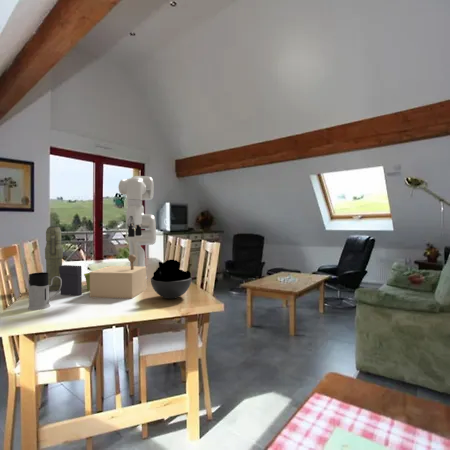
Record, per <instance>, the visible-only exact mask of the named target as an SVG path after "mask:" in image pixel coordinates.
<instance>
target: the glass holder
mask: <svg viewBox="0 0 450 450" xmlns="http://www.w3.org/2000/svg"><path fill="white" fill-rule="evenodd" d="M55 277H58V276H55ZM55 277H53V278H52V280H51V285H52V281H53V279H54V278H55ZM58 278H59V279H60V281H61V284H60V288H59V290H58V291H56V293H55V294H54V295H53V296H52V297H50V291H49V286H51V285H49V284H48V273H46V271H43V272H40V271H39V272H33V273H29V274H28V307H27V309H28V310H29V311H38V310H44V309H48V308H50V307H51V303H50V301H51V300H52V299H53V298H54V297H56V296H57V295H58V293H60V289H61V285H62V280H61V278H60V277H58Z"/></svg>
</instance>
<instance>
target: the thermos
mask: <svg viewBox="0 0 450 450" xmlns="http://www.w3.org/2000/svg"><path fill="white" fill-rule="evenodd" d="M45 241H46V243H45V248H44V259H45V263H46V264H45V272H46V273H48V284H49V285H51V280H52V278H53V277H55V276H58V277H60V274H59V266H63V258H64V247H63V245H62V230H61V227H59V226H49V227H47V228H46V230H45ZM58 277H55V278H54V279H53V281H52V285H51V286H49V292H58V290H59V288H60V279H59V278H58Z"/></svg>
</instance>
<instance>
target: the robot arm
mask: <svg viewBox="0 0 450 450" xmlns="http://www.w3.org/2000/svg"><path fill="white" fill-rule="evenodd" d="M154 186H155V183H154V180H153V177H151V176H148V175H147V176H146V175H134V176H132V177H129V178H124V179H120V181H119V183H118V187H117V188H118V192H119V194H120V195H123V196H124V195H125V196H126V201H127V203H126V206H127V208H126V209H127V210H126V221H125V222H126V225H127V240H128V246H129V247H128V248H129V255H131V254H133V255H135V256H136V260H135V261H134V266H137V267H146V258H145V257H146V253H145V250H144V248H143V247H142V246H146V245H147V246H151V245H155V244H156V242H157V229H156V227H157V226H156V225H157V223H156V217H155V215H153V214H151V213H150V214H149V213H144V212H145V210H144V209H145V207H144V205H143V201H150V200H153V198H154V196H155V195H154V192H155V190H154V189H155V188H154ZM144 229H145V230H144ZM129 266H131V262H130V261H129ZM147 279H148V276H147V275H146V280H147Z"/></svg>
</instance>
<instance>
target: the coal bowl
mask: <svg viewBox="0 0 450 450" xmlns="http://www.w3.org/2000/svg"><path fill="white" fill-rule="evenodd" d="M180 268H181V262H180V261H179V260H177V259H167V260H166V261H164V262H162V261H159V262H158V267H157V269H156V270H155V271H154V272H153V275H152V277H151V278H150V284H151V286H152V288H153V290H154V291H155V292H156V294H158V296H160V297H162V298H165V299H177V298H179V297H181V296H183V295H184V294H185V293H186V292H187V291H188V290H189V289H190V287H191V284H192V273H191V272H190V270H186V271H184V270H183V269H180Z"/></svg>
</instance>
